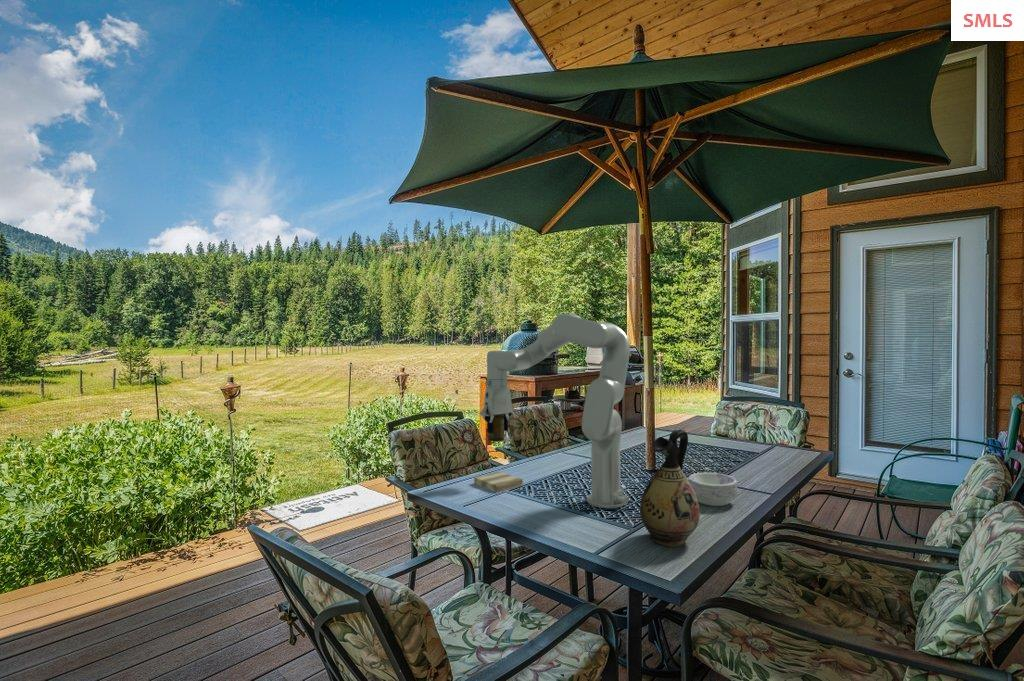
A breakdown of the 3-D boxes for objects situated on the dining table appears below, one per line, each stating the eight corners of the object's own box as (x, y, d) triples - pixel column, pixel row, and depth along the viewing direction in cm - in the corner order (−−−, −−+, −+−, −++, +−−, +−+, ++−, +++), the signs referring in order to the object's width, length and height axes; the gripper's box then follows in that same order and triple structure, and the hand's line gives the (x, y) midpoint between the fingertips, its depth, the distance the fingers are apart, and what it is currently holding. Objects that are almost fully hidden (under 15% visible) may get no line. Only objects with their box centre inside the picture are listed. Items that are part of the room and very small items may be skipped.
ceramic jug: (676, 558, 125) (675, 438, 124) (628, 537, 137) (627, 429, 137) (715, 541, 134) (714, 430, 134) (667, 523, 147) (666, 422, 147)
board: (522, 485, 185) (522, 479, 185) (497, 492, 177) (497, 485, 177) (499, 477, 196) (499, 471, 195) (474, 483, 188) (474, 477, 188)
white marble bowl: (678, 497, 170) (678, 474, 170) (713, 492, 175) (713, 469, 175) (711, 512, 156) (710, 487, 156) (748, 506, 161) (748, 481, 161)
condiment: (498, 436, 192) (497, 405, 191) (512, 440, 185) (511, 407, 185) (482, 439, 187) (482, 407, 187) (496, 443, 180) (496, 410, 180)
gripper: (484, 386, 177) (485, 436, 178) (521, 382, 188) (521, 430, 189) (472, 384, 183) (473, 433, 183) (508, 381, 194) (509, 427, 194)
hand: (497, 431), depth 186 cm, fingers closed on condiment, 6 cm apart
